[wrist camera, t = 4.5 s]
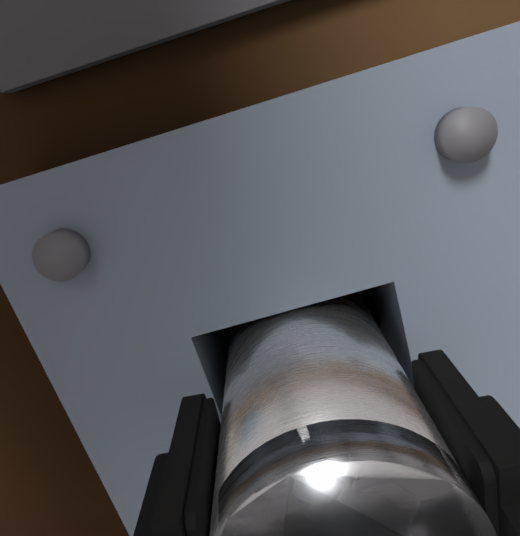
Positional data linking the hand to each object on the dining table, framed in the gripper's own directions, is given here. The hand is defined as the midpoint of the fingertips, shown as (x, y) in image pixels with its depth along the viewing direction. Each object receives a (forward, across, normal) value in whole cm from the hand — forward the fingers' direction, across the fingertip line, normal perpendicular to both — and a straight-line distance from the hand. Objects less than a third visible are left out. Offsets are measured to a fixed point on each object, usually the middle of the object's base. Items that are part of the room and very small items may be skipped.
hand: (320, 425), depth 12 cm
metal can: (+5, 0, 0) cm, 5 cm away
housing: (+6, 0, 0) cm, 6 cm away
